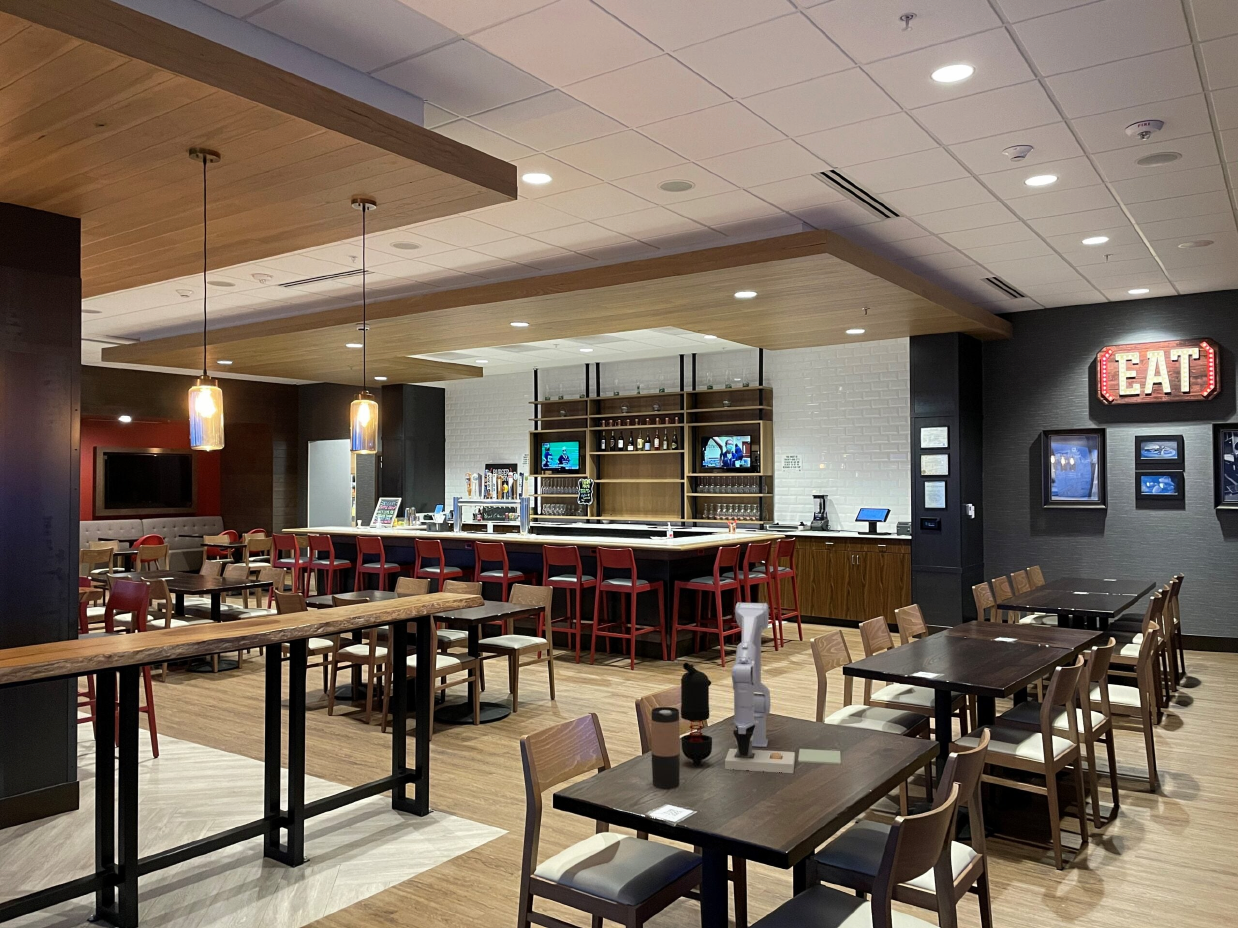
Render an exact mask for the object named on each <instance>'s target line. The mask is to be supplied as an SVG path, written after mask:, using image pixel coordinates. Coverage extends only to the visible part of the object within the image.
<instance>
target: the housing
mask: <svg viewBox="0 0 1238 928" xmlns="http://www.w3.org/2000/svg"><path fill="white" fill-rule="evenodd" d="M772 753H779V754H781V759H771V754H772ZM795 756H796V752H794V751H779V750H778V751H777V750H762V749H761V750H760V749H752V759H751V758H737V748H729V749H728V752H727V755H726V757H725V760H724V764H725V765H724V769H725V770H730V771H731V770H733V769H734V770H733V771H746V770H749V772H750V771H751V772H763V771H764V773H779V772H780V773H781V772H782V773H781V774H794V770H795V763H796V761H795V760H796V757H795Z"/></svg>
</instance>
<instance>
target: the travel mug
mask: <svg viewBox="0 0 1238 928" xmlns="http://www.w3.org/2000/svg"><path fill="white" fill-rule="evenodd" d="M680 739H681V738H680V710H679V708H676V707H673V706H672V707H671V706H659V707H658V706H657V707H654V708H652V709H651V742H650V743H651V745H650V746H651V749H650V750H651V770H652V773H651V774H652V786H653V787H655V788H657V789H660V790H661V789H662V790H672V789H677V788H678V787H679V786H680V768H681V767H680V765H681V763H680V762H681V746H680V745H681V743H680Z"/></svg>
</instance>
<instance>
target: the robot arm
mask: <svg viewBox="0 0 1238 928" xmlns="http://www.w3.org/2000/svg"><path fill="white" fill-rule="evenodd" d="M769 609H770V608H769V605H768V603H767V602H764V603H763V602H762V603H761V602H760V603H759V602H740V601H739V602H737V603H736V605H735V613H734V616H735V621H736V623H737V625H738V627H739V628H740V629H741V642H740V643H739V644H738V645H737V646H736V651H735V661H734V665H732V667H731V680H732V690H733V709H734V710H733V711H734V712H733V716H734V717H733V718H734V719H733V724H734V726H735V729H733V731H732V734H733V735H734V738H735V746H737V743H738V748H739V753H740V755H741V756H747V755H748V751H749V744H750V739H751V737H752V736H753V740H752V747H755V748H756V747H760V748H762V747H763V748H767V747H768V743H769V739H768V738H767V720H766V719H767V715H769V714H770V713H771V693H770V689H769V688H768V687H767V686H766V685H765V684H763V682H762V634H763V631H764V630H766V629H768V627H769V617H770V616H769V615H770V613H769V611H770V610H769Z"/></svg>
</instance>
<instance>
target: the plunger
mask: <svg viewBox="0 0 1238 928" xmlns="http://www.w3.org/2000/svg"><path fill="white" fill-rule="evenodd" d="M771 759H781V754H779V753H772V754H771Z"/></svg>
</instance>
